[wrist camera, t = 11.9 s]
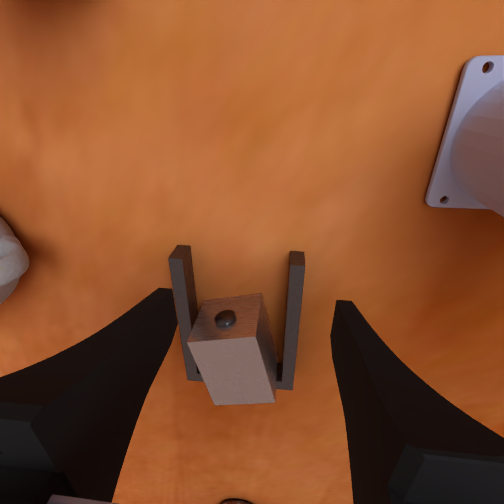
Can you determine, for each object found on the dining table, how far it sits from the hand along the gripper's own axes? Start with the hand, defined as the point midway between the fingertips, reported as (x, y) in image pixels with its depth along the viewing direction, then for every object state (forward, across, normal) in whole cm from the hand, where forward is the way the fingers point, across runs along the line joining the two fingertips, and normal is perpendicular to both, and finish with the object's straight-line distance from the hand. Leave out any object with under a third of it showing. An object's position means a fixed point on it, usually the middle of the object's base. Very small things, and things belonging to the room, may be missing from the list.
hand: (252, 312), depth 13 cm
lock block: (+10, +2, +10) cm, 14 cm away
